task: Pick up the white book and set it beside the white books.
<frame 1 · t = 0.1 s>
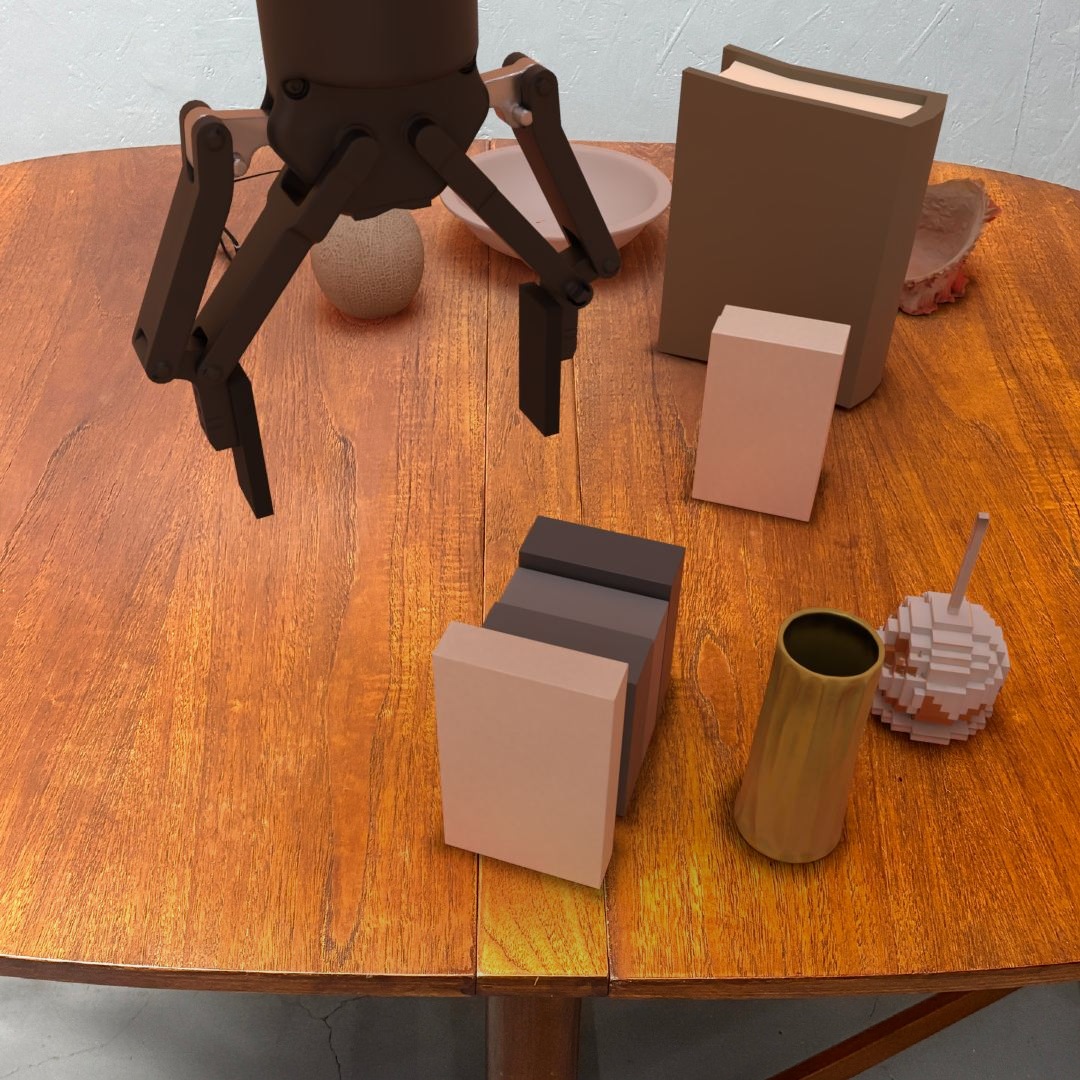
hand: (404, 459, 52), 24 cm above the table, tool pointing down, fingers open, 13 cm apart
vase: (786, 822, 66), on the table
eyeglasses: (287, 235, 124), on the table
soup bowl: (554, 247, 122), on the table
white book: (528, 848, 64), on the table
pale rounded piece: (922, 703, 73), on the table
grey books: (577, 728, 71), on the table
white books: (752, 500, 88), on the table
seashell: (894, 278, 118), on the table
fruit: (375, 310, 111), on the table
book: (772, 364, 104), on the table
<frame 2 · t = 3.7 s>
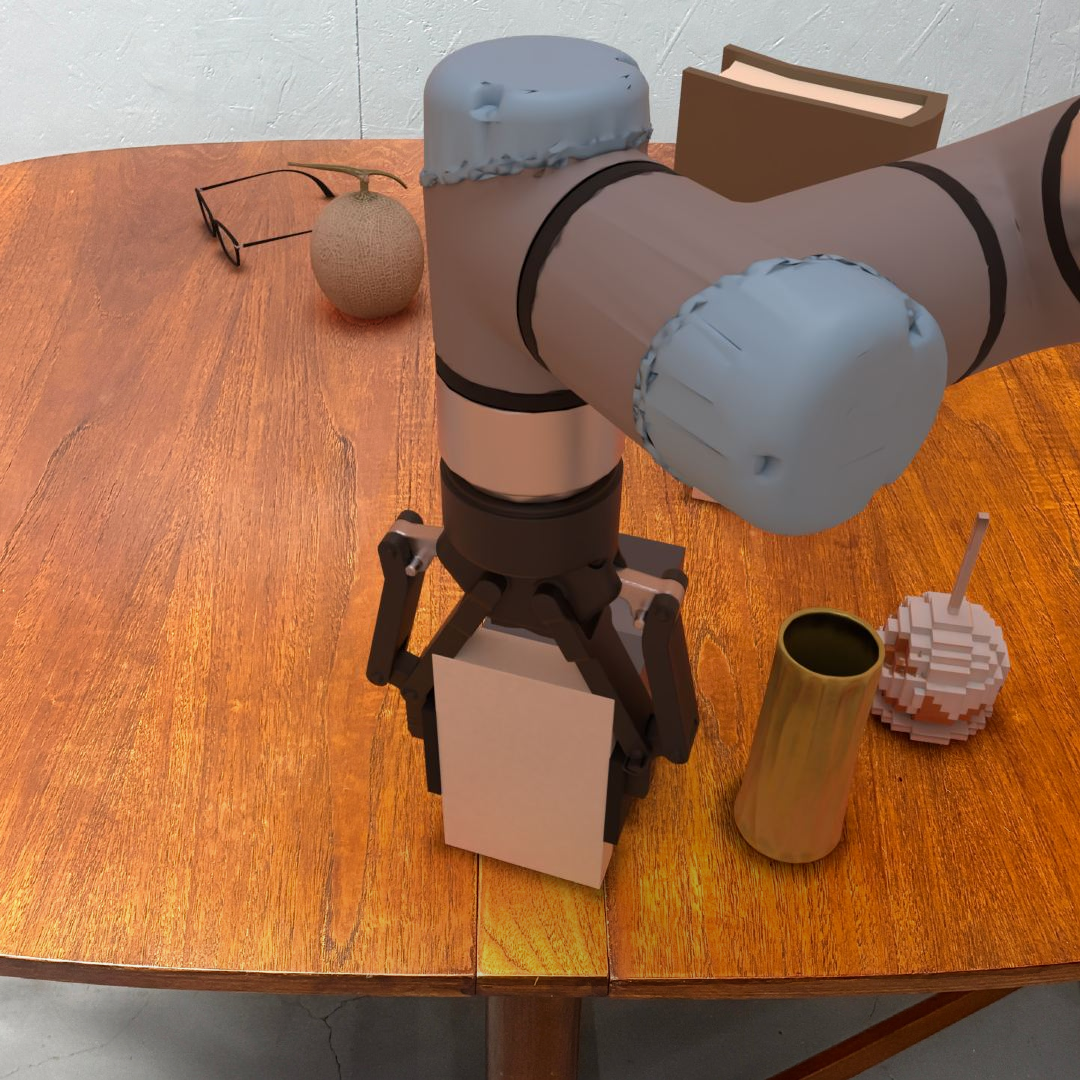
hand: (528, 798, 61), 4 cm above the table, tool pointing down, fingers closed on white book, 9 cm apart
white book: (528, 848, 64), on the table, touching gripper
everything else where it was.
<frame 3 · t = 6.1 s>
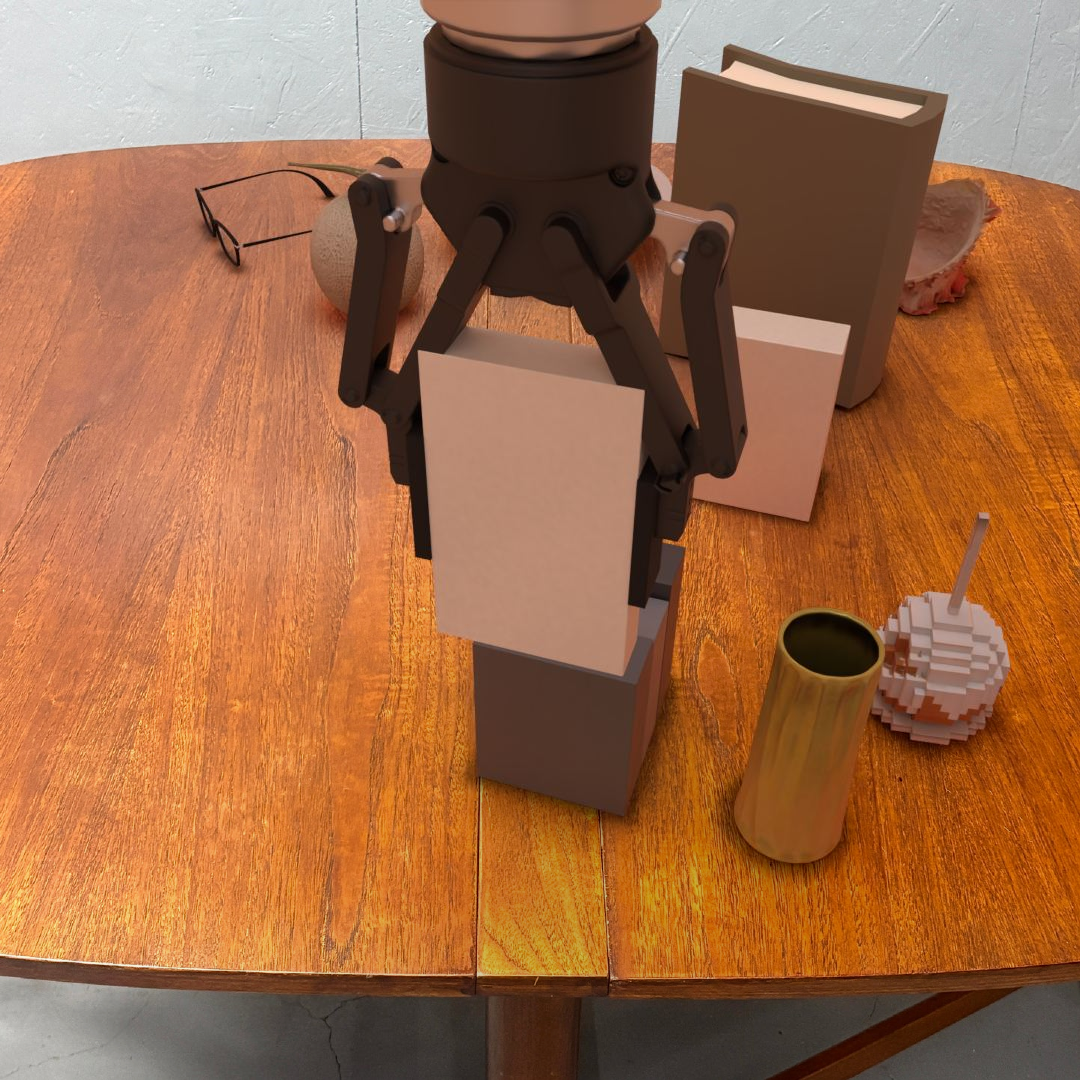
hand: (537, 562, 51), 21 cm above the table, tool pointing down, fingers closed on white book, 9 cm apart
white book: (536, 636, 53), point 16 cm above the table, touching gripper
everything else where it was.
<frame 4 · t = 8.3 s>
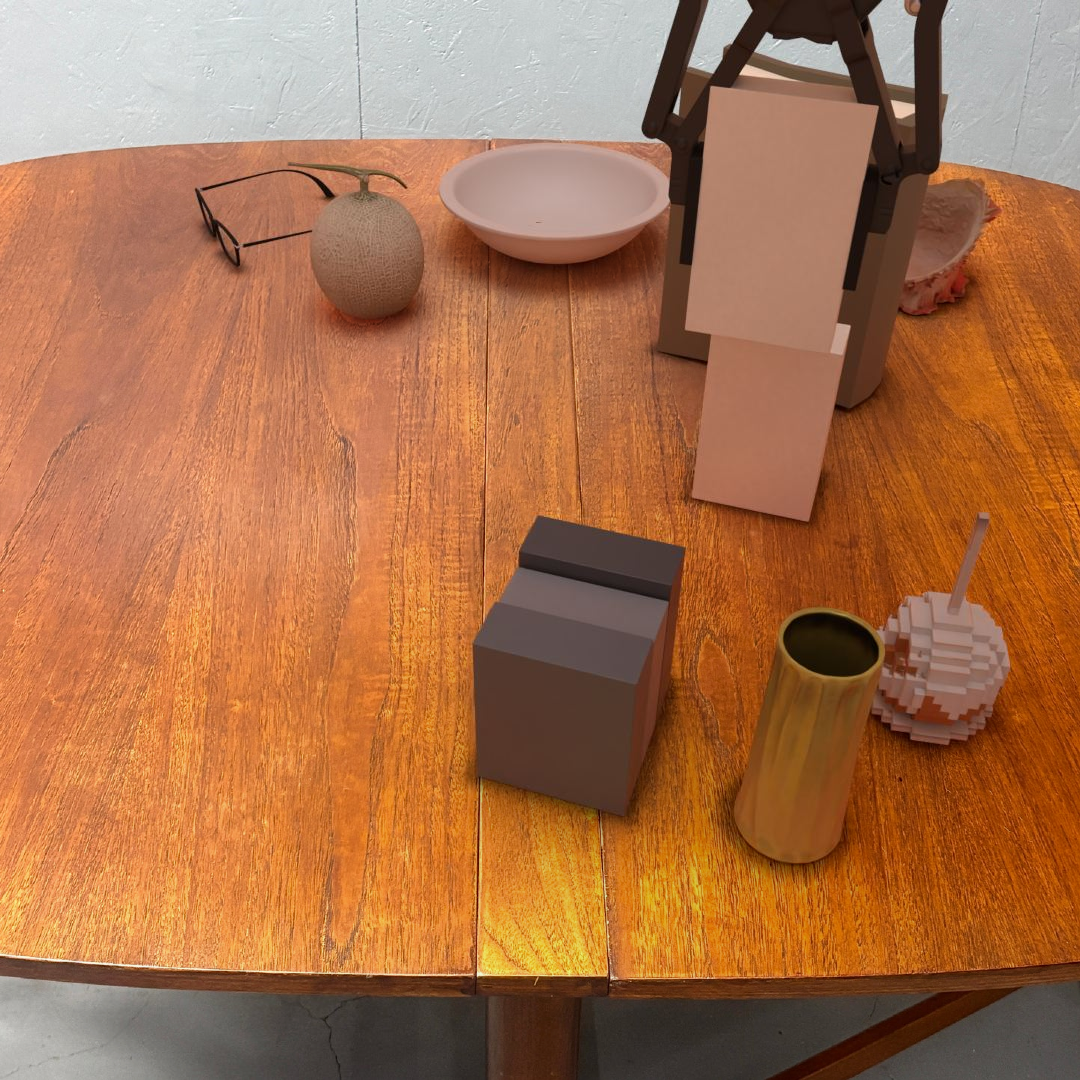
hand: (769, 267, 69), 23 cm above the table, tool pointing down, fingers closed on white book, 9 cm apart
white book: (759, 332, 72), point 18 cm above the table, touching gripper
everything else where it was.
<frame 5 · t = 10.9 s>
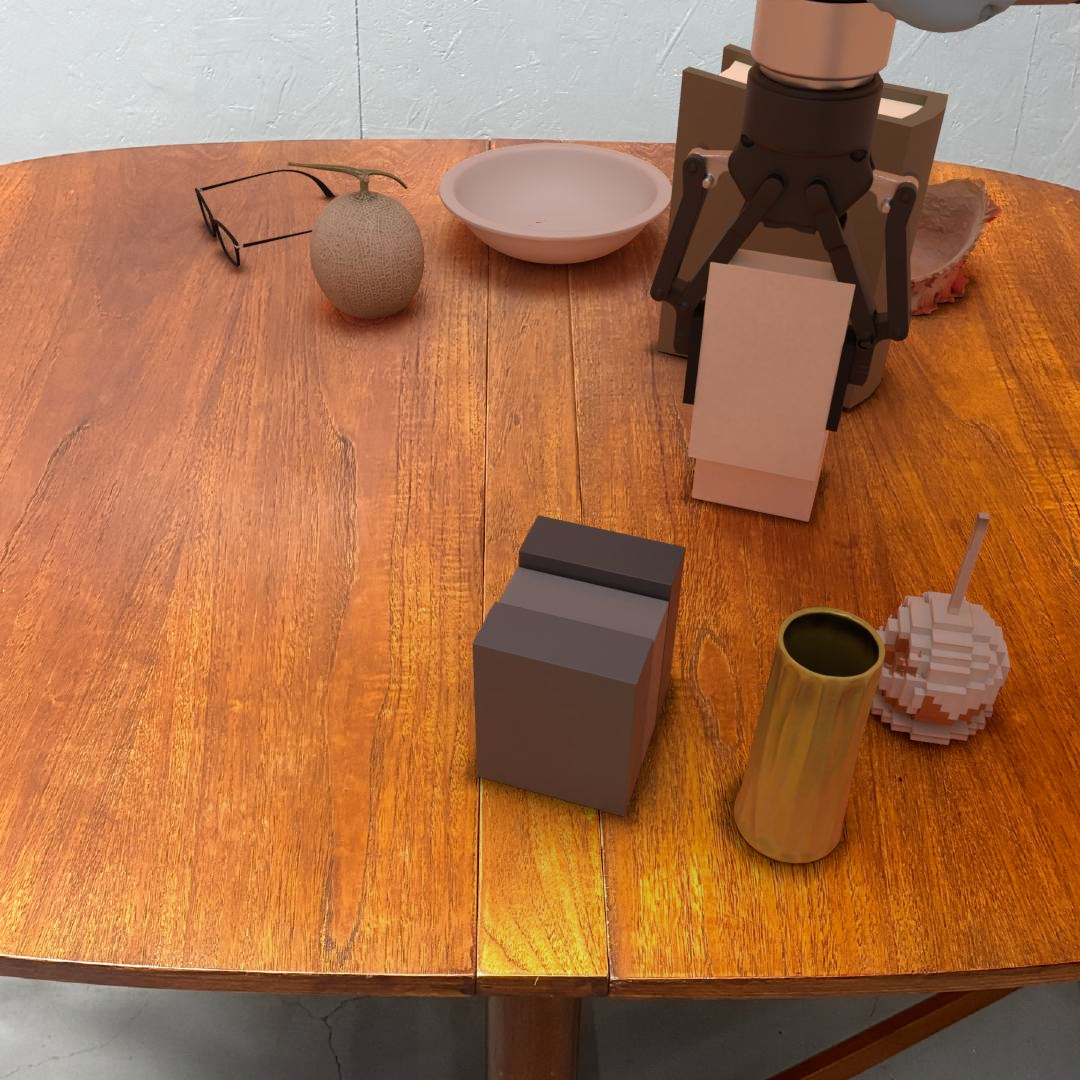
hand: (762, 406, 78), 11 cm above the table, tool pointing down, fingers closed on white book, 9 cm apart
white book: (753, 459, 81), point 7 cm above the table, touching gripper
everything else where it was.
when the fingers open (4 cm above the table, at t = 13.0 s): white book stays where it is, on the table.
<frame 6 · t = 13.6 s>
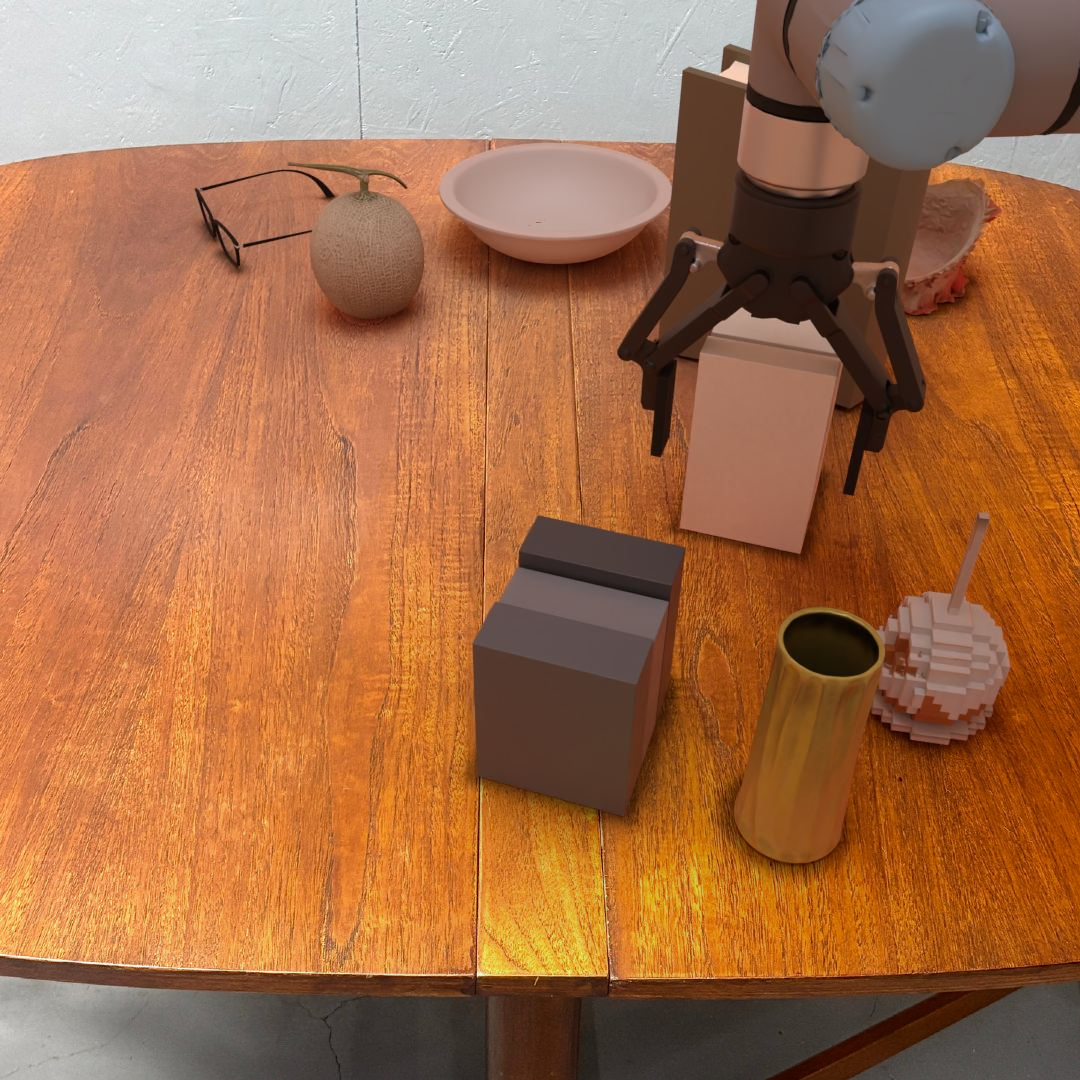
hand: (753, 465, 81), 6 cm above the table, tool pointing down, fingers open, 13 cm apart
white book: (742, 531, 85), on the table
everything else where it was.
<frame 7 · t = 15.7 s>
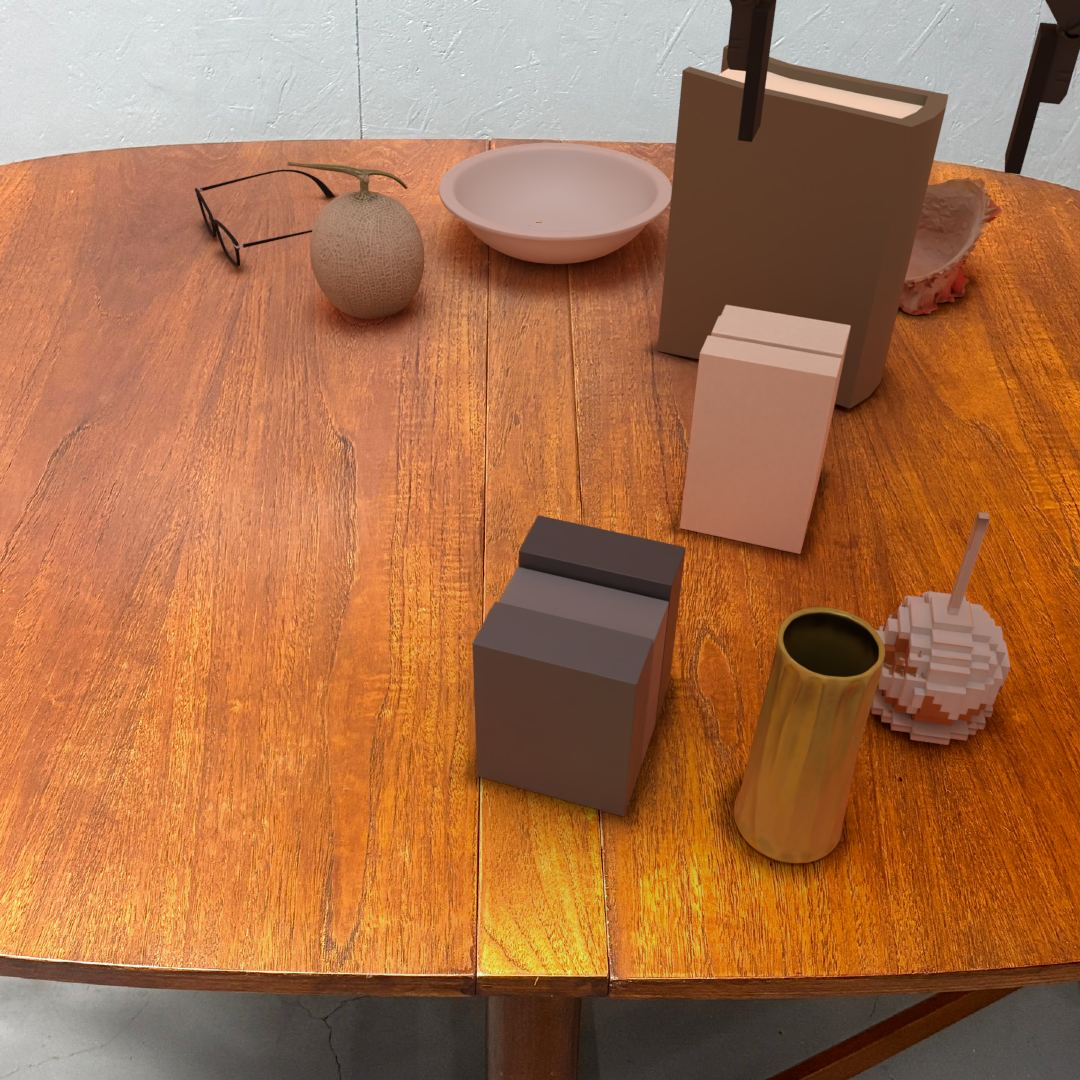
hand: (877, 149, 61), 31 cm above the table, tool pointing down, fingers open, 13 cm apart
nothing on the table moved.
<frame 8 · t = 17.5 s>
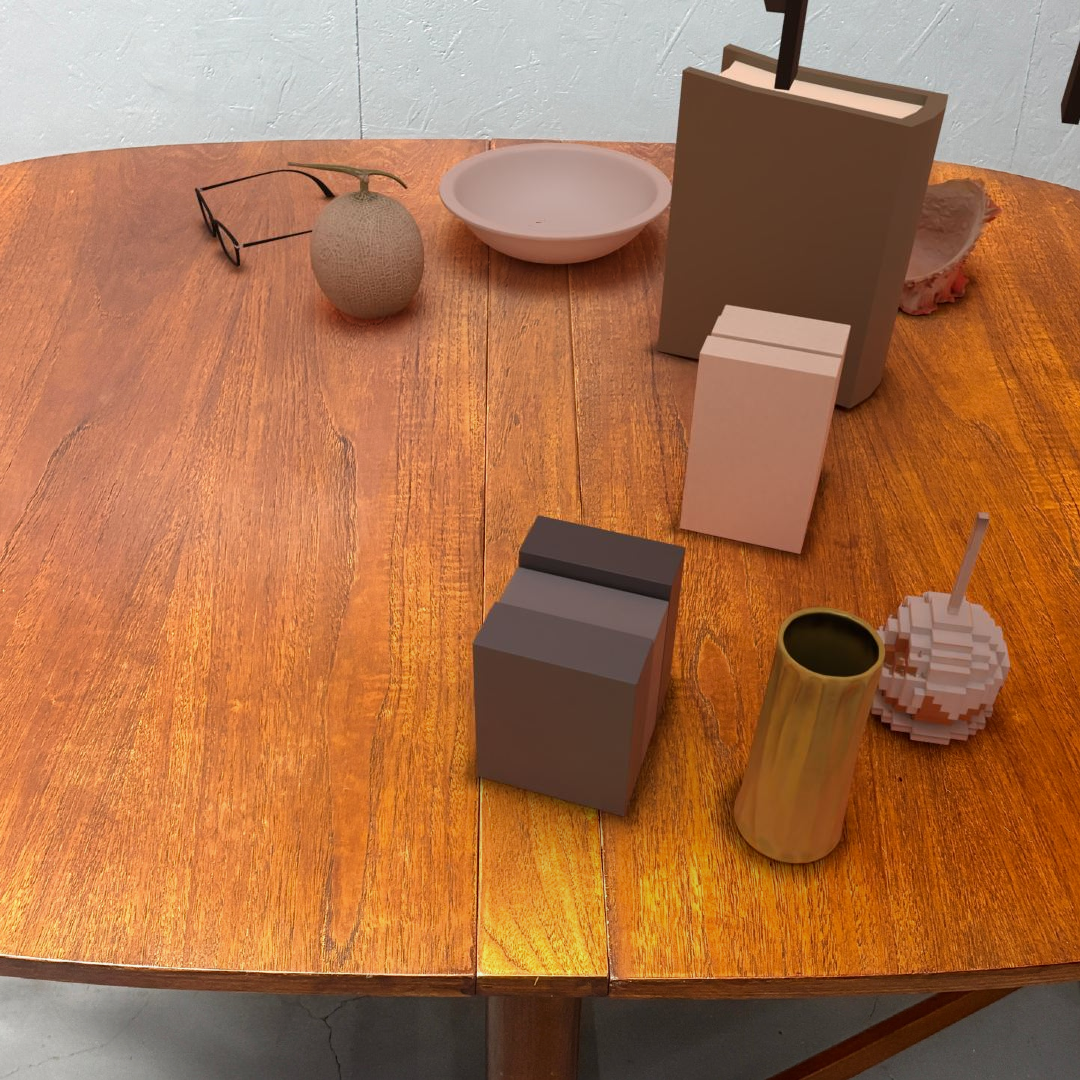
hand: (923, 98, 57), 35 cm above the table, tool pointing down, fingers open, 13 cm apart
nothing on the table moved.
at the end: white book 0.3 cm from the target spot on the white books, point 0.0 cm above the white books's base; white book tilted 0°; the gripper is holding nothing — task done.
